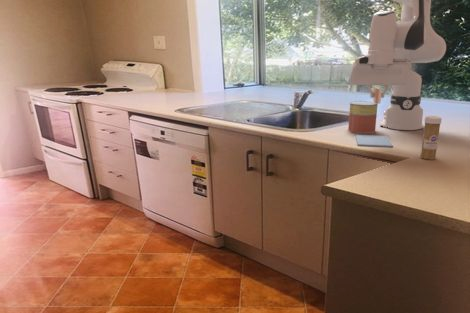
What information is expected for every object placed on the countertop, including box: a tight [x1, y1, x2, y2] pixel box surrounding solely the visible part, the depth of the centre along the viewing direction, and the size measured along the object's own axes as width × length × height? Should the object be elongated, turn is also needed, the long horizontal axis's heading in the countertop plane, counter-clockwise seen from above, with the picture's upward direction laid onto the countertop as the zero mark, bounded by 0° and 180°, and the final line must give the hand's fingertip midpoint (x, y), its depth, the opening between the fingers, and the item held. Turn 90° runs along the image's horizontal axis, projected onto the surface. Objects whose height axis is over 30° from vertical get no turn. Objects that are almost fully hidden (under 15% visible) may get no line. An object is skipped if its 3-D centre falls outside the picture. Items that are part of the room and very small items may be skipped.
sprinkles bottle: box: [419, 115, 442, 160], centre depth 117 cm, size 5×5×13 cm
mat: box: [355, 134, 394, 148], centre depth 141 cm, size 16×12×1 cm
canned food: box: [347, 100, 379, 134], centre depth 159 cm, size 11×11×12 cm
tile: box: [372, 87, 383, 105], centre depth 136 cm, size 8×2×5 cm, turn 165°
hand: (376, 97), depth 137 cm, fingers closed on tile, 2 cm apart
